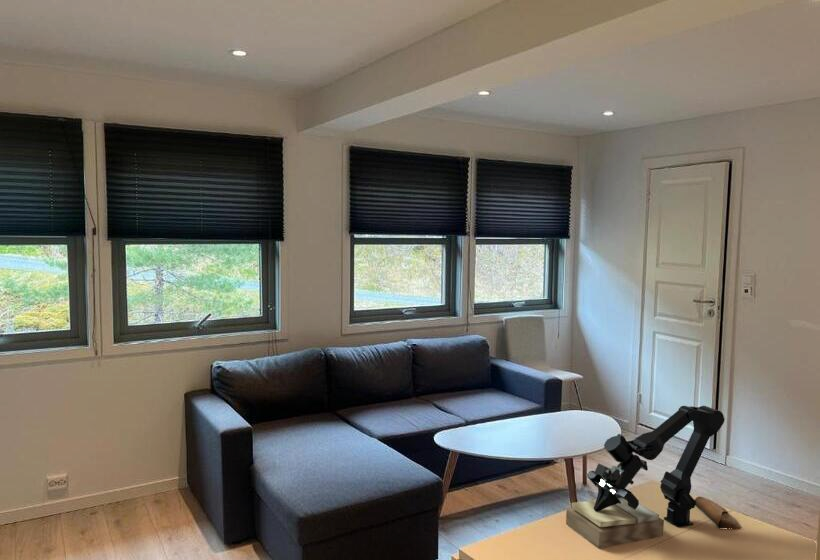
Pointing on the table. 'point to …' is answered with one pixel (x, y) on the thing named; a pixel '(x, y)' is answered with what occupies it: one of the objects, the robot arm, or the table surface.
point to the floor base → (618, 527)
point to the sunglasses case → (717, 513)
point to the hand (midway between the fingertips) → (595, 510)
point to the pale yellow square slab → (603, 514)
